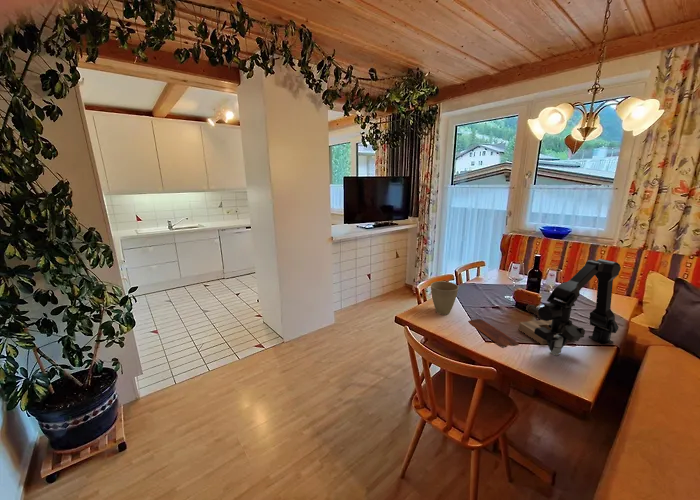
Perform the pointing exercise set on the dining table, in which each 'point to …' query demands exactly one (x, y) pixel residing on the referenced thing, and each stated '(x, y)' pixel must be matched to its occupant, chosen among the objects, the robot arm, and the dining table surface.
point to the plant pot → (443, 296)
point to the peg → (557, 346)
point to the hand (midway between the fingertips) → (555, 349)
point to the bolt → (533, 310)
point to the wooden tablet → (493, 333)
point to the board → (530, 328)
